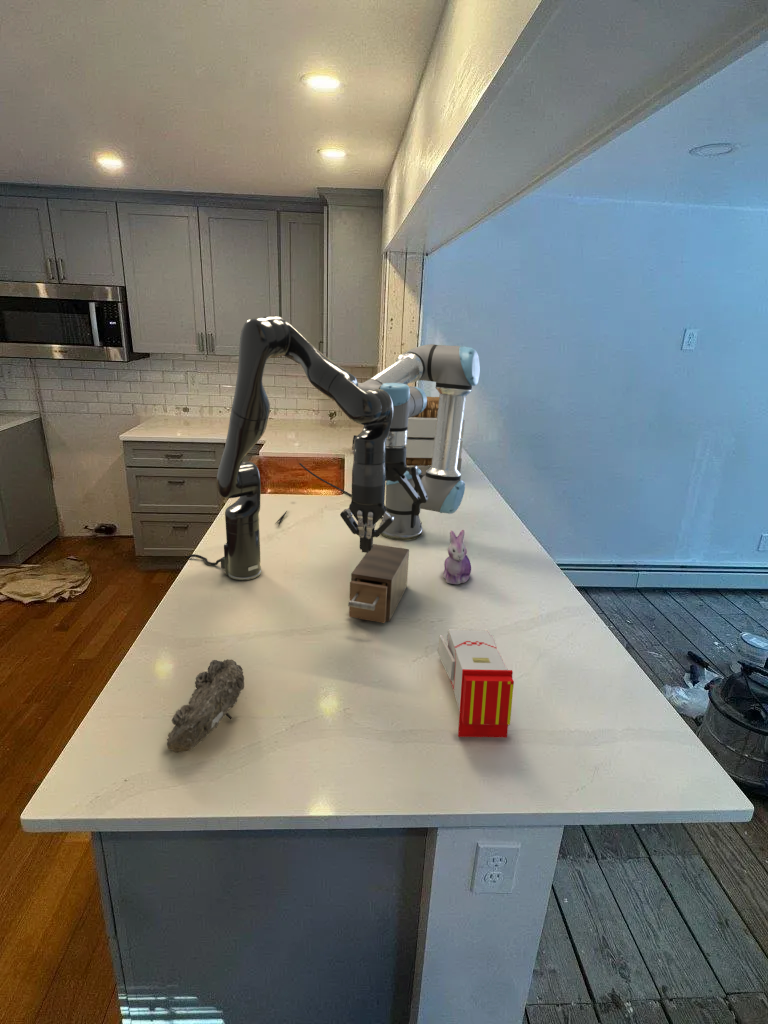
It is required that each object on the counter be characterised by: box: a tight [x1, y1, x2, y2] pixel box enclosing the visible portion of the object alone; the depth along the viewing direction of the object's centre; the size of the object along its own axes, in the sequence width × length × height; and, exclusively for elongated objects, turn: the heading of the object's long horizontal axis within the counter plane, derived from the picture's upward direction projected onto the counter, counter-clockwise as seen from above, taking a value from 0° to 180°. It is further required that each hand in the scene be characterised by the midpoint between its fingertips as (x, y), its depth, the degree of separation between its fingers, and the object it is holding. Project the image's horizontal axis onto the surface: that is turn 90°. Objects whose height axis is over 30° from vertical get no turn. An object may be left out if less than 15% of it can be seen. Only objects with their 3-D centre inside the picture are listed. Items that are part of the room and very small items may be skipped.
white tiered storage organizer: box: [405, 396, 465, 475], centre depth 268 cm, size 34×33×41 cm
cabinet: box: [350, 543, 410, 622], centre depth 152 cm, size 20×10×12 cm, turn 165°
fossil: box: [166, 658, 245, 754], centre depth 106 cm, size 22×10×15 cm
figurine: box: [442, 529, 472, 585], centre depth 166 cm, size 9×10×15 cm
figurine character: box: [351, 435, 357, 451], centre depth 310 cm, size 7×8×15 cm
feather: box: [274, 510, 288, 528], centre depth 213 cm, size 2×28×2 cm
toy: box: [437, 628, 515, 738], centre depth 117 cm, size 12×13×30 cm
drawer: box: [347, 579, 387, 624], centre depth 146 cm, size 24×9×10 cm, turn 165°
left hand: (366, 551), depth 133 cm, fingers closed
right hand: (388, 523), depth 152 cm, fingers open, 13 cm apart
